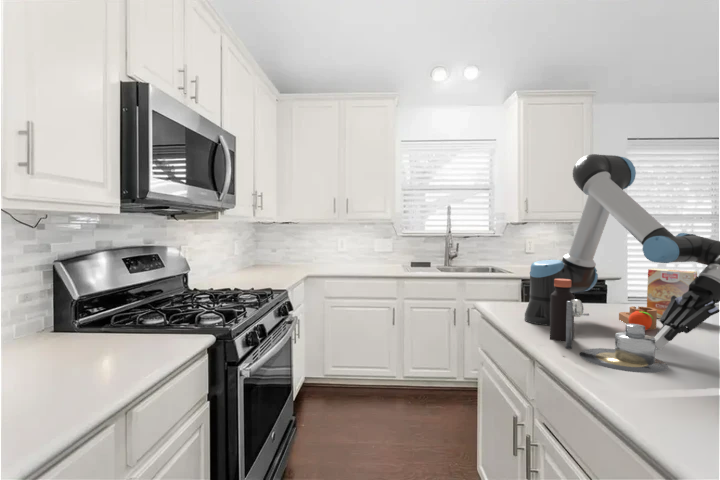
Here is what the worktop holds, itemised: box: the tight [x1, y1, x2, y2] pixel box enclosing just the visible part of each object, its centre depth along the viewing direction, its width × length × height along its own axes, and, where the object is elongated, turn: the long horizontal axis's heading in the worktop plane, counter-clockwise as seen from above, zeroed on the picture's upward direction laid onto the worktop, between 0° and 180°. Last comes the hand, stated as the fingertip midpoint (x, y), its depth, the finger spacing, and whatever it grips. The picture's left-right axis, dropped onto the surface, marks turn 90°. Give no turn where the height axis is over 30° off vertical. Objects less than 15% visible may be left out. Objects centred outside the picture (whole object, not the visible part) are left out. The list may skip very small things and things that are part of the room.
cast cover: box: [614, 324, 656, 364], centre depth 113 cm, size 9×9×9 cm
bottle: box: [549, 279, 575, 343], centre depth 132 cm, size 7×7×20 cm
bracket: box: [618, 305, 658, 331], centre depth 158 cm, size 18×8×7 cm, turn 168°
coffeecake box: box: [646, 267, 698, 319], centre depth 167 cm, size 15×7×20 cm, turn 43°
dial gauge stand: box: [565, 298, 590, 350], centre depth 122 cm, size 5×8×16 cm, turn 96°
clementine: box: [628, 311, 653, 331], centre depth 147 cm, size 8×7×7 cm
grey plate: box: [579, 347, 669, 374], centre depth 112 cm, size 20×20×1 cm
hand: (654, 346), depth 113 cm, fingers closed
